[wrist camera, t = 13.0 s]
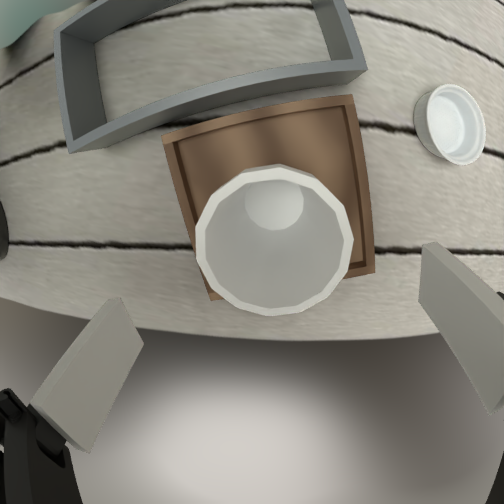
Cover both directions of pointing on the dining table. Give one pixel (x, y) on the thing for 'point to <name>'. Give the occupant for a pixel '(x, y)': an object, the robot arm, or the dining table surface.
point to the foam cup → (273, 240)
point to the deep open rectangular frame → (191, 101)
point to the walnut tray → (278, 161)
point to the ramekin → (450, 124)
